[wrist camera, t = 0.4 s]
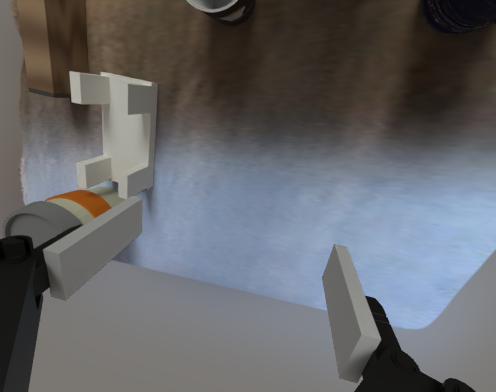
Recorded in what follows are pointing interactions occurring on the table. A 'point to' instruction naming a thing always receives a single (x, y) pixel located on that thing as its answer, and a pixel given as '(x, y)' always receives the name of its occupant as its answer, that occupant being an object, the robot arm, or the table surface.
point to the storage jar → (459, 15)
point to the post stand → (119, 130)
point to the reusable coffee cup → (60, 213)
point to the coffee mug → (225, 9)
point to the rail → (53, 44)
